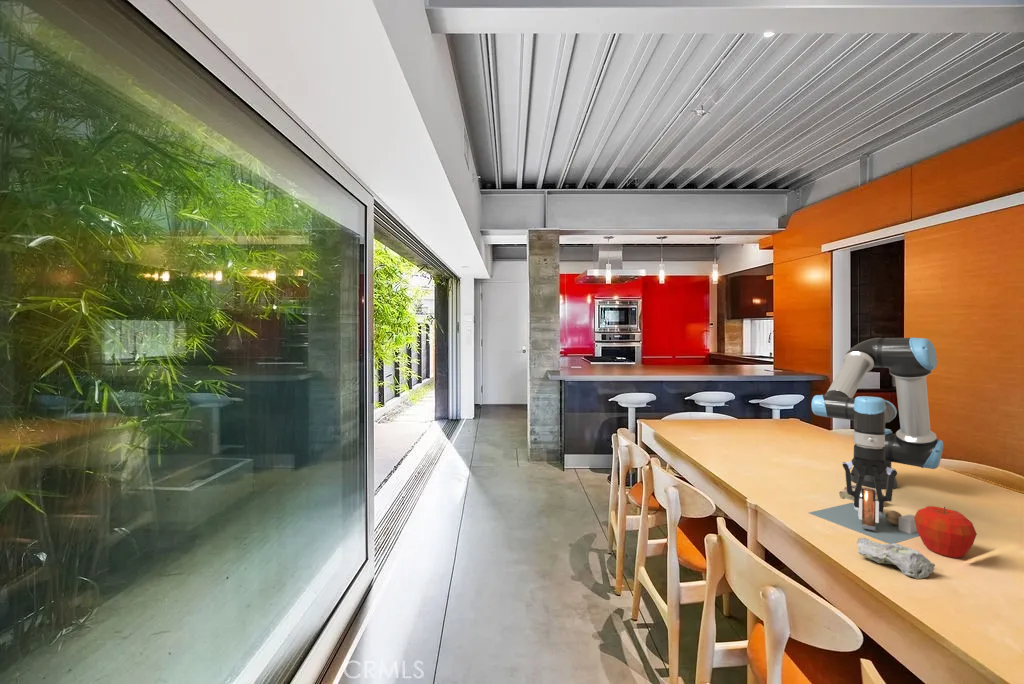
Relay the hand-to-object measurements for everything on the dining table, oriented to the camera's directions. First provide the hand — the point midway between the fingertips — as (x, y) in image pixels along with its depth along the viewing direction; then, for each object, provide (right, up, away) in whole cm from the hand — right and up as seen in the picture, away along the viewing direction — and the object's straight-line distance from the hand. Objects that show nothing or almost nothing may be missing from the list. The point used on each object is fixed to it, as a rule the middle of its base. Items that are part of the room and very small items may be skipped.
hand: (868, 519), depth 132 cm
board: (+6, -4, +6) cm, 10 cm away
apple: (+10, -5, -13) cm, 17 cm away
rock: (+18, -5, +23) cm, 30 cm away
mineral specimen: (-9, -5, -20) cm, 22 cm away
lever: (+6, -2, +7) cm, 9 cm away
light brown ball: (+12, -3, +4) cm, 12 cm away
